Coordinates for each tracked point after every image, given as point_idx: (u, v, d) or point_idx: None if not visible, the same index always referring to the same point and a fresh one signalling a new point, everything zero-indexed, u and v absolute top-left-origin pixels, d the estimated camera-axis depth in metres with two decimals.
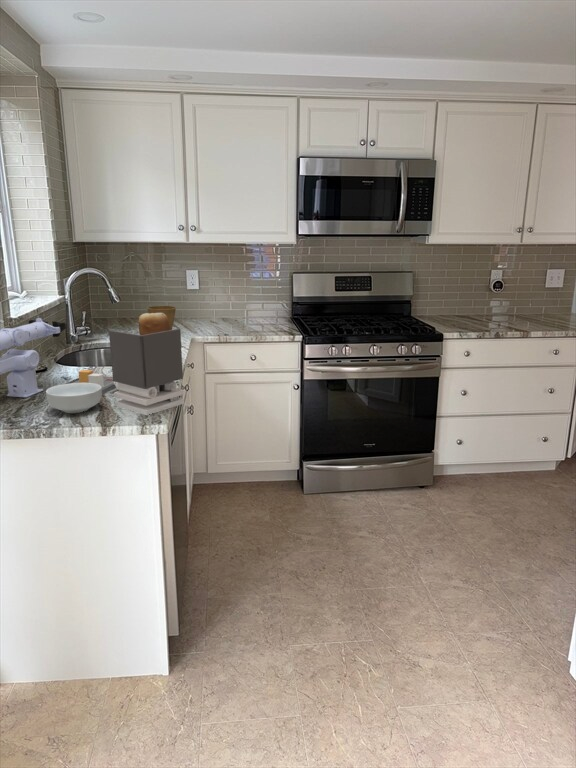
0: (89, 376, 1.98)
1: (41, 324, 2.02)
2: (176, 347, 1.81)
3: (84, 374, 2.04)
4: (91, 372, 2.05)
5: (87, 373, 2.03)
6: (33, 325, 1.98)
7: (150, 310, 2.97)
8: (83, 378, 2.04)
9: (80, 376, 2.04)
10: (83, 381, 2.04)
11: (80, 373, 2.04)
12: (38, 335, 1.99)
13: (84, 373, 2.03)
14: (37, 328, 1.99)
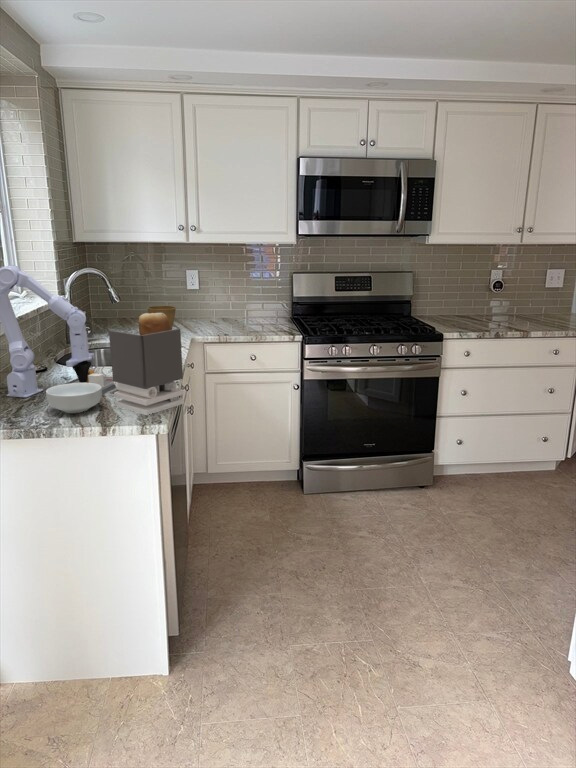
0: (89, 376, 1.98)
1: (82, 356, 1.99)
2: (176, 347, 1.81)
3: None
4: (92, 371, 2.06)
5: (88, 372, 2.04)
6: (83, 345, 1.98)
7: (150, 310, 2.97)
8: None
9: None
10: None
11: None
12: (72, 346, 1.98)
13: None
14: (78, 347, 1.97)
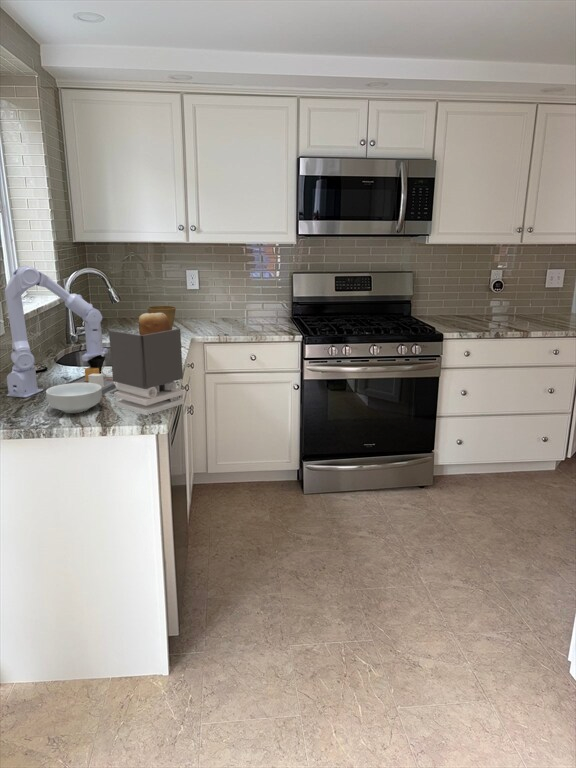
0: (89, 376, 1.98)
1: (97, 350, 2.08)
2: (176, 347, 1.81)
3: (90, 372, 2.07)
4: (97, 369, 2.08)
5: (93, 370, 2.07)
6: (97, 340, 2.07)
7: (150, 310, 2.97)
8: None
9: (86, 373, 2.08)
10: None
11: (86, 370, 2.07)
12: (87, 341, 2.07)
13: (90, 370, 2.07)
14: (93, 342, 2.06)
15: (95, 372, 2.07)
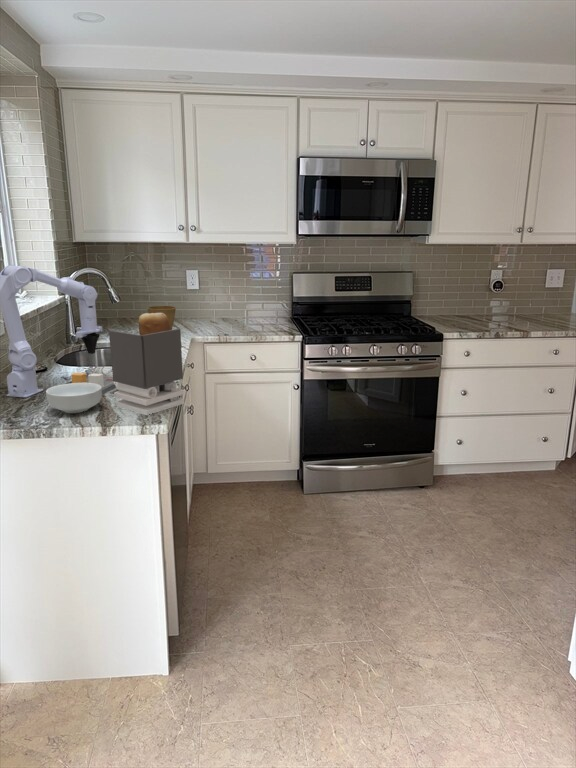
0: (89, 376, 1.98)
1: (91, 327, 2.10)
2: (176, 347, 1.81)
3: (77, 377, 1.99)
4: (84, 375, 2.01)
5: (80, 376, 1.99)
6: (91, 318, 2.09)
7: (150, 310, 2.97)
8: (76, 381, 2.00)
9: (73, 379, 2.00)
10: None
11: (73, 376, 1.99)
12: (81, 319, 2.09)
13: (77, 376, 1.99)
14: (87, 319, 2.09)
15: (82, 378, 1.99)
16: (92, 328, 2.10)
